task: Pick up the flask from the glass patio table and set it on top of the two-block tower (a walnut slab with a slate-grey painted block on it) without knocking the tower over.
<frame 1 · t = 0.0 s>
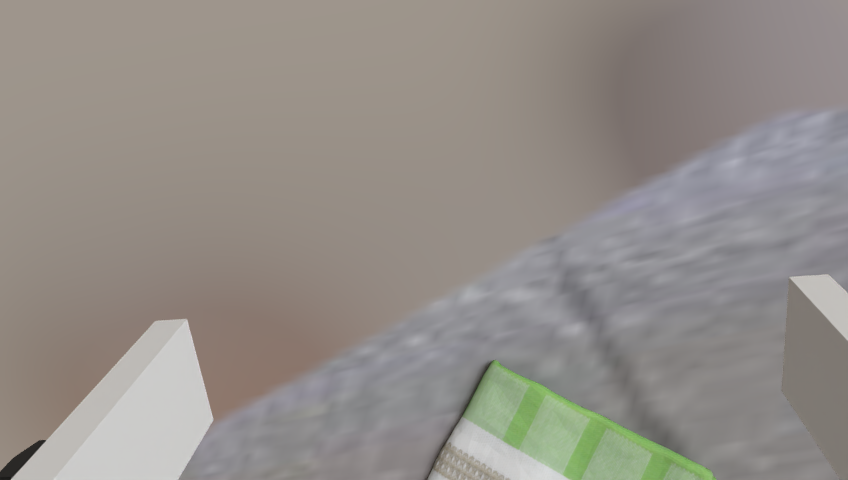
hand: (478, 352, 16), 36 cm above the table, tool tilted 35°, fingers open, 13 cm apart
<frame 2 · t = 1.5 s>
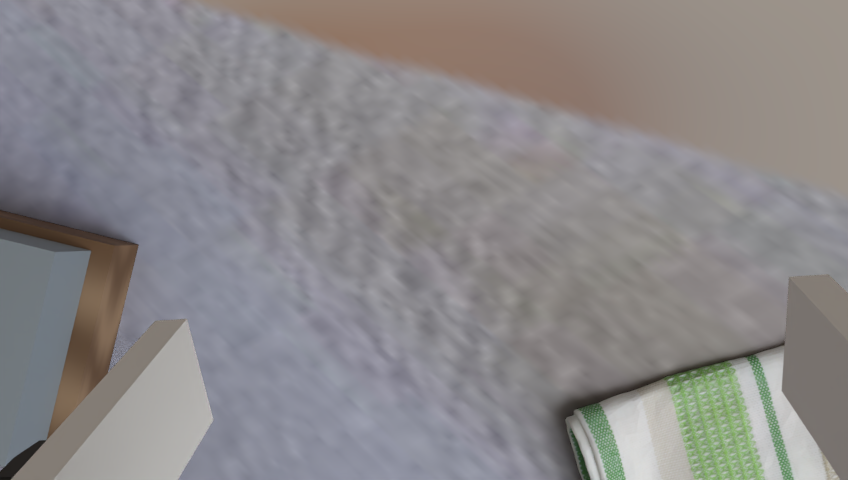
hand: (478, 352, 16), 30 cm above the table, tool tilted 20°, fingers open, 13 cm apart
tower base block: (13, 322, 48), on the table, touching tower top block
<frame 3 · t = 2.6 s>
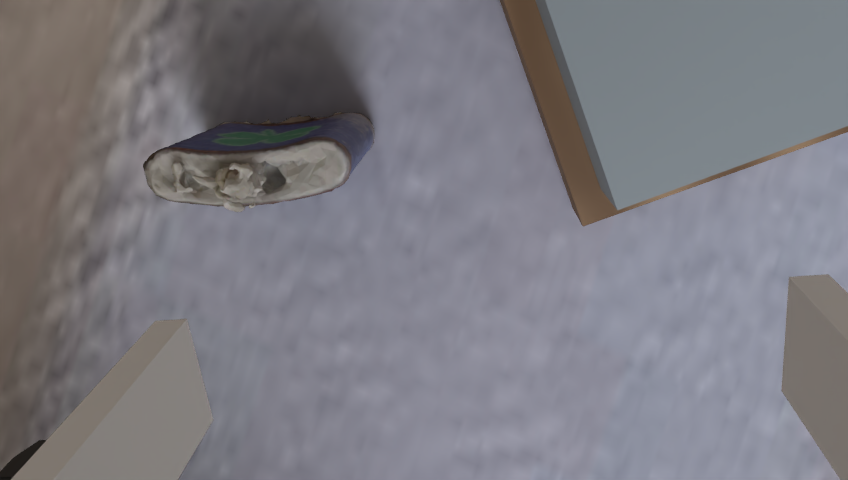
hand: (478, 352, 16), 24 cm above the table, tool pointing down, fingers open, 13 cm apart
tower top block: (685, 24, 34), point 3 cm above the table, touching tower base block
tower base block: (658, 36, 38), on the table, touching tower top block
flask: (292, 140, 40), on the table
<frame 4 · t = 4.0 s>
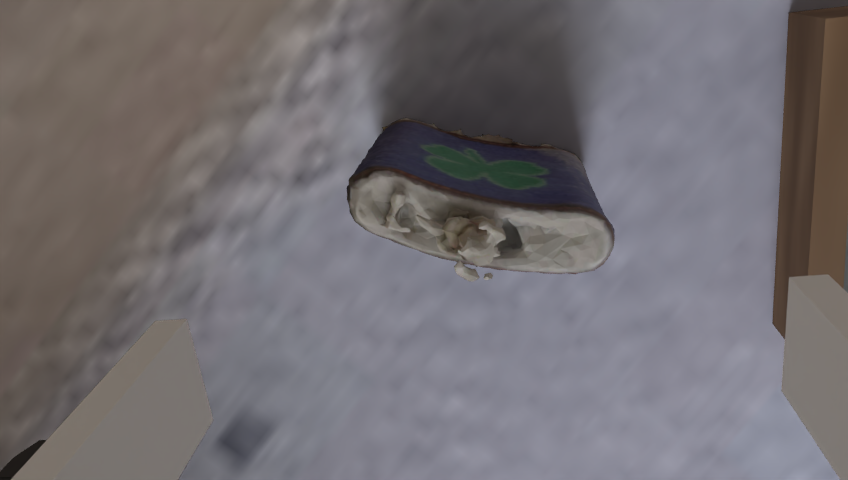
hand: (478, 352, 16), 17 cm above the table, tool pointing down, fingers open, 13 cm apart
flask: (479, 160, 33), on the table
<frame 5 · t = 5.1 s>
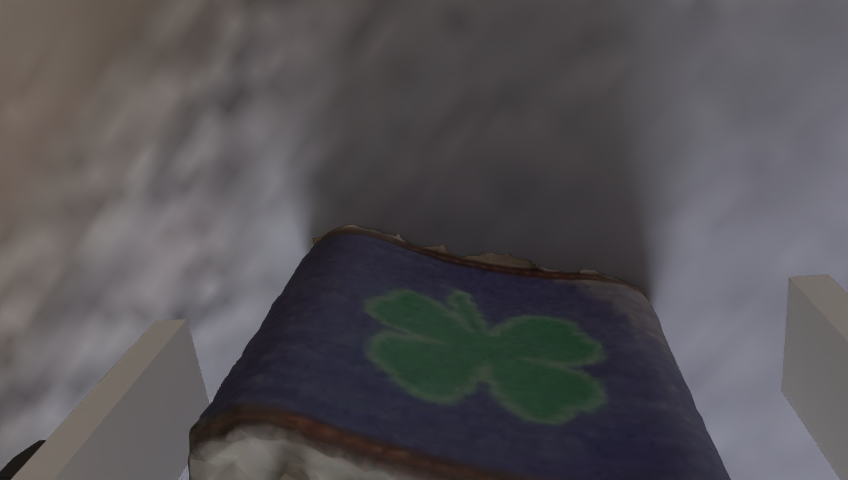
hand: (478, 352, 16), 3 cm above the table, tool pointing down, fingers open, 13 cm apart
flask: (475, 291, 20), on the table
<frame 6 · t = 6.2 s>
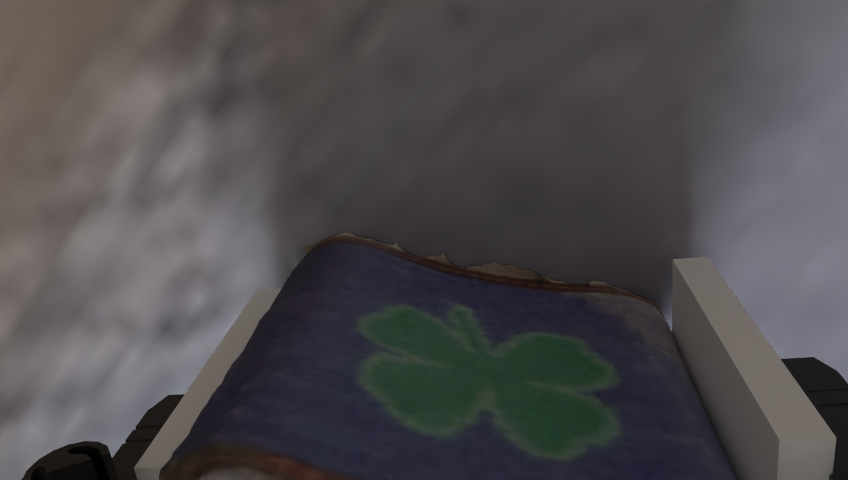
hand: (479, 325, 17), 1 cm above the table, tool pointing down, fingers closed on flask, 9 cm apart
flask: (478, 303, 18), on the table, touching gripper
when the fingers open (11 cm above the table, at t = 12.1 s): flask drops 3 cm, resting on tower top block.
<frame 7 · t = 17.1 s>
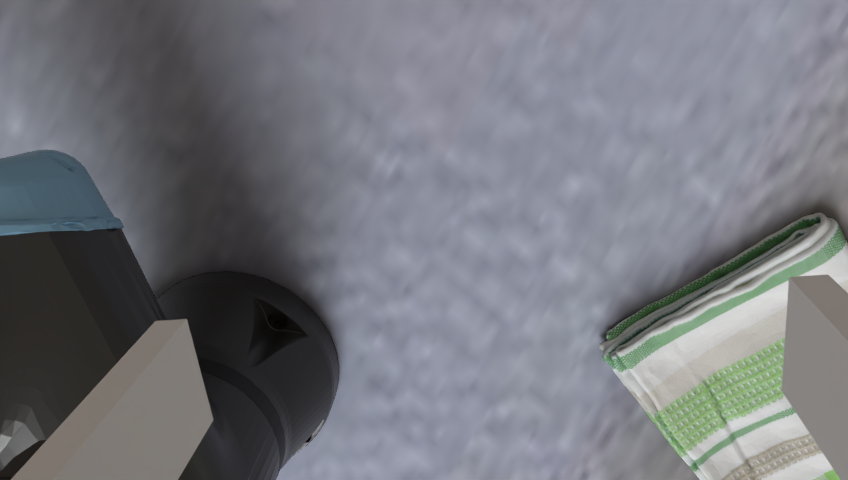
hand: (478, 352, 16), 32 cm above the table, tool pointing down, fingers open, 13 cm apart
dish towel: (780, 389, 52), on the table
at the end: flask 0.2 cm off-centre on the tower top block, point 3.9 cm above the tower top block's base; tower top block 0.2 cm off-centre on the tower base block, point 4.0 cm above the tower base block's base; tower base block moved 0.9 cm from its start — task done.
